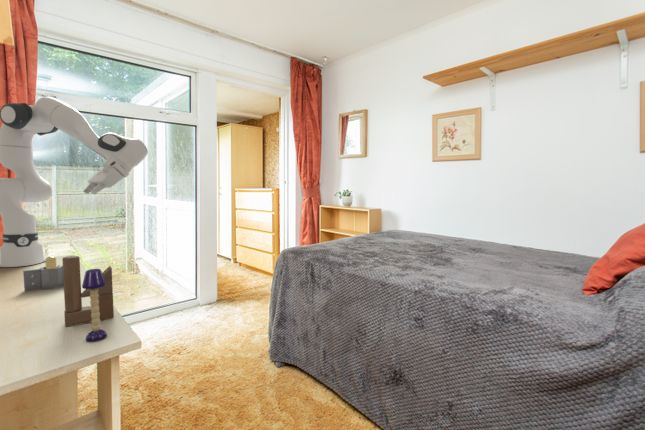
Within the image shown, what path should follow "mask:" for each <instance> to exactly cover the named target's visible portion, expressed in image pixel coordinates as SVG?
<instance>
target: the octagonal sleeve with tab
mask: <svg viewBox="0 0 645 430" xmlns="http://www.w3.org/2000/svg"><path fill="white" fill-rule="evenodd" d="M56 265H57V264H56ZM22 272H23V273H22V274H23V287H24V288H23V289H24V290H23V291H24V292H29V291H35V290H36V291H37V290H40V289H42V290H52V289H53V290H54V289H58V288H61V287H64V280H63V265H57V268H53V269H46V266H42V267H40V268H36V269H29V270H23V271H22Z"/></svg>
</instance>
